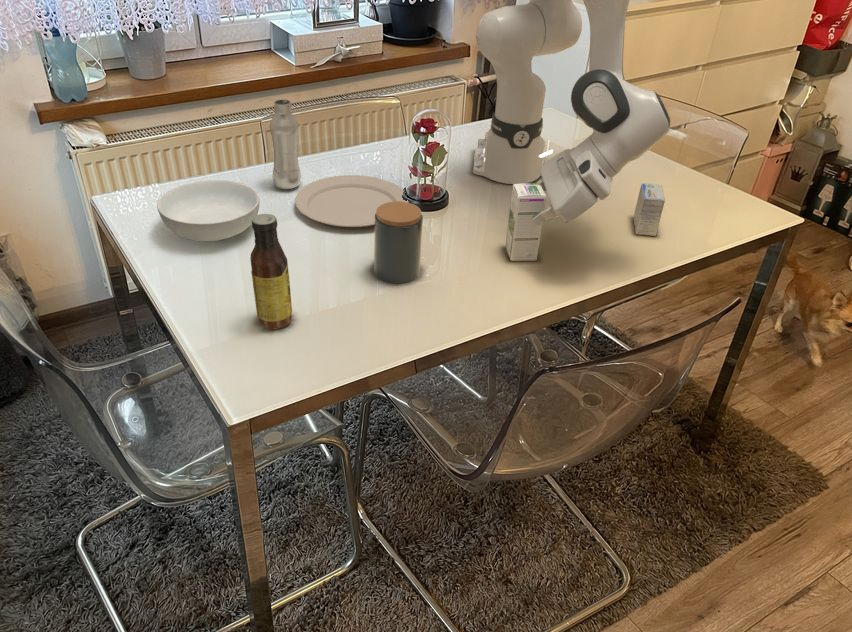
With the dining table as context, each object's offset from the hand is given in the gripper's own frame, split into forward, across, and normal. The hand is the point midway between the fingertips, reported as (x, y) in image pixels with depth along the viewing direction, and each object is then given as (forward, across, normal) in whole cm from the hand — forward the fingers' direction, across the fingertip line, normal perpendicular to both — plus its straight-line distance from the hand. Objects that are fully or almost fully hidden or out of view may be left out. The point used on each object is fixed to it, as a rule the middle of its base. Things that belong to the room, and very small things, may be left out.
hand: (531, 210), depth 145 cm
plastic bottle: (+44, -29, -30) cm, 61 cm away
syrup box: (+8, 0, +7) cm, 10 cm away
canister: (+26, +8, -12) cm, 29 cm away
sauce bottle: (+41, +26, -27) cm, 55 cm away
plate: (+33, -19, -19) cm, 43 cm away
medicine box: (-13, -14, +27) cm, 33 cm away
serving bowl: (+54, -7, -39) cm, 67 cm away
